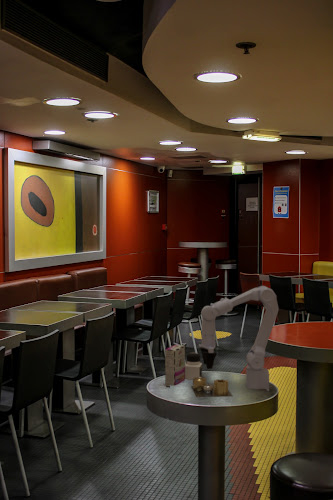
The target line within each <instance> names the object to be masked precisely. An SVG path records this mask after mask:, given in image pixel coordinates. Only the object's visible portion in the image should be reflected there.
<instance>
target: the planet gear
mask: <svg viewBox="0 0 333 500" xmlns="http://www.w3.org/2000/svg"><path fill="white" fill-rule="evenodd" d="M213 386H214V394H217V395H226V394H228V390H229V381H228V379H227V380H226V379H223V378H222V379H215V380H213Z"/></svg>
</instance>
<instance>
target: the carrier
mask: <svg viewBox="0 0 333 500" xmlns="http://www.w3.org/2000/svg"><path fill="white" fill-rule="evenodd" d="M190 388H191V390H192V392H193V393H194V395H195V397H196V398H206V397H207V398H216V397H217V398H218V397H219V398H221V397H228V398H229V397H234V396H233V394H232V392H231V391H230V389H228V394H226V395H217V394H214V384H210V383H207V378H206V377H204V376H202V377H195V378H193V380H192V385H191V386H190Z"/></svg>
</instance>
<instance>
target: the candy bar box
mask: <svg viewBox="0 0 333 500" xmlns="http://www.w3.org/2000/svg"><path fill="white" fill-rule="evenodd" d="M164 361H165V362H164V365H165V366H164V367H165V369H164V371H165V373H164V374H165V375H164V377H165V379H164V380H165V383H164V384H165V387H166V388H171V387H170V386H173V387H174V386H177V385H179V384H181V383H182V382H185V380H186V379H185V364H186V345H182V344H181V345H180V344H174V345H171V346H170V347H167V348H165V350H164Z"/></svg>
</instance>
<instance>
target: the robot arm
mask: <svg viewBox="0 0 333 500" xmlns="http://www.w3.org/2000/svg"><path fill="white" fill-rule="evenodd" d="M248 301H256V302H257V301H258V302H259V301H260V302H261V303H262V305H263V307H264V309H265V312H264V315H263V317H262V320H261V323H260V326H259V329H258V331H257V335H256V338H255V340H254V344H253V345H252V346H251V347H250V350H249V351H248V352H247V354H246V356H245V362H246V363H247V365H246V367H245V368H246V371H245V376H246V377H245V384H246V385H245V388H246V389H248V390H266V391H267V392H270V371H269V369H268V368H264V366H265V355H266V347H267V345H268V342H269V339H270V337H271V333H272V330H273V328H274V325H275V322H276V319H277V317H278V314H279V313H278V312H279V305H278V300H277V294H276V293H275V292H274V290H273V289H272V288H269V287H267V286H266V285H260V286H257V287H254V288H251V289H249V290H247V291H245V292H243V293H240V294H239V295H237V296H235V297H232V298H231V299H229V298H227V297H226V298H223V297H222V298H220V300H219V301H216V302H214V303H212V302H211V303H210V305H205V306H204V307H203V308H202V309H201V312H200V315H201V317H202V318H201V319H202V320H201V344H200V343H199V344H198V347H199V349H200V352H201V355H202V361H203V364H204V365H205V366H206V369H209V370H213V366H214V363H215V358H216V357H217V355H218V352H217V351H214V349H215V348H216V347H217V346H216V318H217V317H220V316H222V315H225V314H227V313H229V312H232V310H233V308H234V307H236V306H238V305H240V304H244V303H246V302H248Z"/></svg>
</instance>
